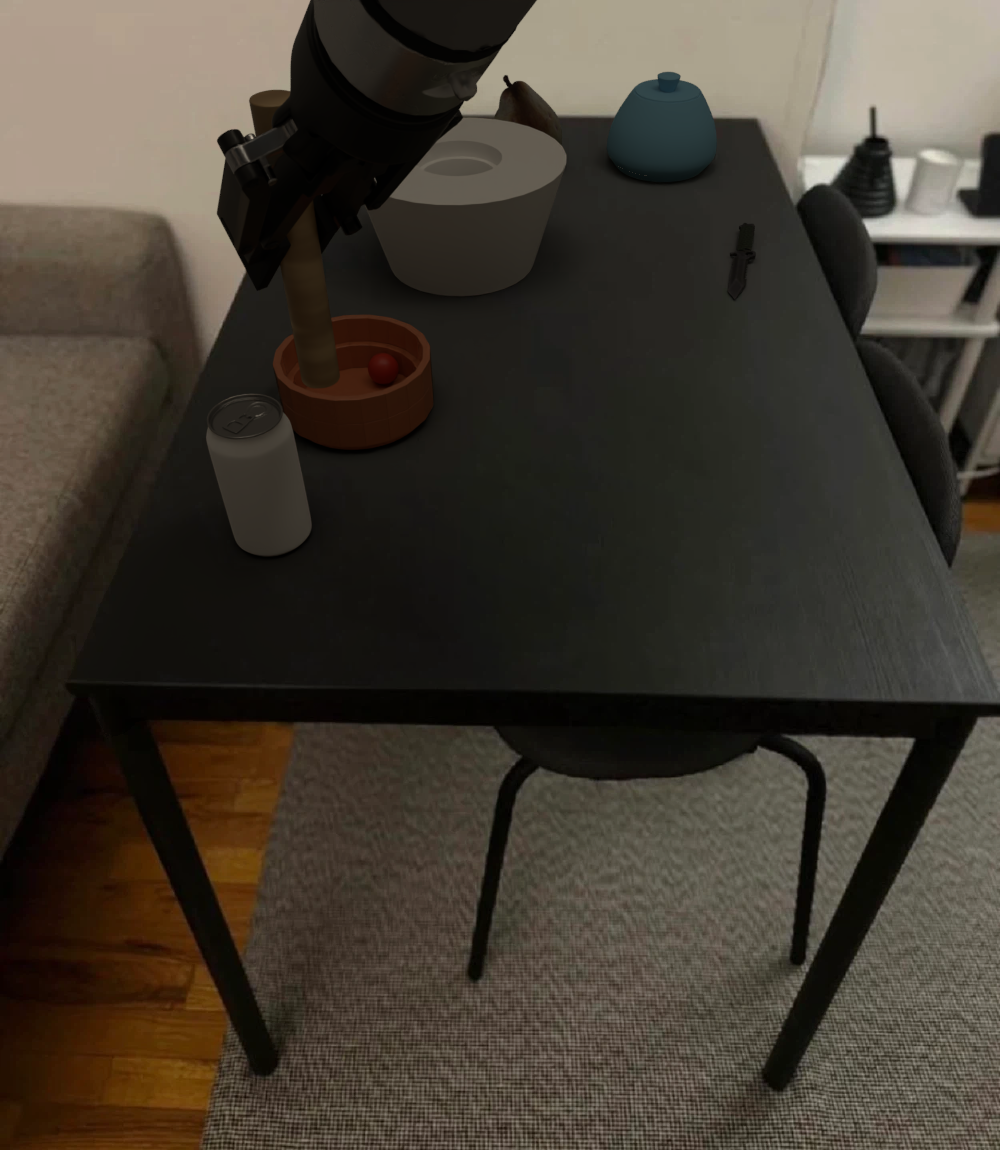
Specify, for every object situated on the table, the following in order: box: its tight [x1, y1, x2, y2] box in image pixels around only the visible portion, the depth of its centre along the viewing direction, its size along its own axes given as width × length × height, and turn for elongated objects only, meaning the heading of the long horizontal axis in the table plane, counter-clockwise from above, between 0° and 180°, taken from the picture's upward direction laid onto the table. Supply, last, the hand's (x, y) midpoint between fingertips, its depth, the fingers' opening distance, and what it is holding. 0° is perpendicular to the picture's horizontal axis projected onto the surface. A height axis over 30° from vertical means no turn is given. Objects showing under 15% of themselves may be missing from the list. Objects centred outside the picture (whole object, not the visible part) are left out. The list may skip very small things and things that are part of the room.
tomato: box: [368, 353, 399, 384], centre depth 91 cm, size 3×3×3 cm
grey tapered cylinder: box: [364, 117, 567, 297], centre depth 107 cm, size 24×24×12 cm
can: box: [205, 393, 313, 558], centre depth 74 cm, size 6×6×12 cm
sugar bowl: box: [606, 71, 718, 183], centre depth 127 cm, size 15×15×12 cm
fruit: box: [493, 74, 563, 146], centre depth 126 cm, size 10×9×12 cm
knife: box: [727, 222, 757, 300], centre depth 110 cm, size 18×1×3 cm
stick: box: [248, 89, 340, 388], centre depth 57 cm, size 3×3×18 cm
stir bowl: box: [272, 314, 434, 451], centre depth 89 cm, size 14×14×6 cm
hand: (274, 261), depth 61 cm, fingers closed on stick, 2 cm apart
